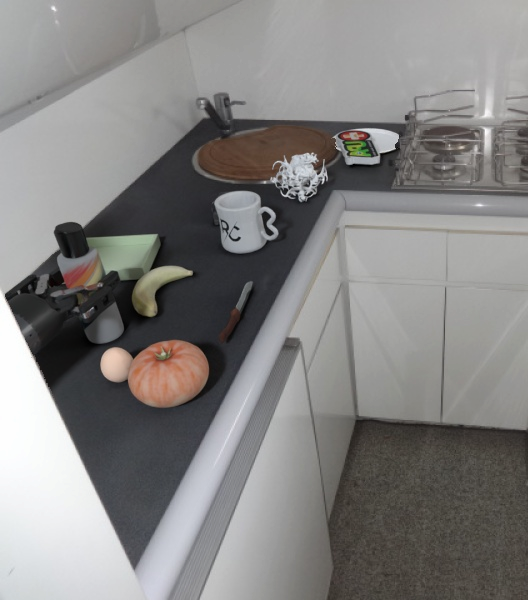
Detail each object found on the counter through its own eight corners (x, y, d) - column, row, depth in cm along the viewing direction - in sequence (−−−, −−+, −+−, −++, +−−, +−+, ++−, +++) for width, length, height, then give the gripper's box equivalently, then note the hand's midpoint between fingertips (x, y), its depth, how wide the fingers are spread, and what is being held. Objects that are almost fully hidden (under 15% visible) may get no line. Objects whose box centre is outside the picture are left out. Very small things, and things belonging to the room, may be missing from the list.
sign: (382, 157, 150) (343, 159, 148) (382, 163, 151) (344, 166, 149) (368, 129, 167) (334, 131, 166) (368, 135, 169) (334, 137, 167)
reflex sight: (236, 203, 136) (232, 183, 133) (233, 222, 128) (227, 201, 125) (219, 205, 136) (214, 185, 133) (214, 224, 127) (209, 203, 124)
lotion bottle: (87, 328, 97) (45, 221, 86) (123, 319, 99) (87, 213, 88) (87, 348, 93) (43, 238, 81) (125, 338, 95) (88, 230, 83)
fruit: (117, 318, 100) (112, 302, 98) (159, 271, 112) (155, 256, 110) (157, 322, 99) (152, 306, 97) (195, 274, 111) (191, 259, 109)
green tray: (61, 284, 108) (56, 272, 107) (84, 248, 119) (80, 238, 117) (146, 278, 110) (142, 267, 108) (160, 244, 120) (158, 233, 119)
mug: (214, 252, 118) (204, 207, 112) (235, 231, 125) (227, 188, 119) (271, 259, 115) (264, 214, 110) (289, 238, 123) (283, 194, 117)
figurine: (335, 152, 135) (334, 202, 138) (298, 146, 144) (298, 192, 148) (289, 154, 126) (290, 206, 130) (253, 146, 136) (254, 196, 140)
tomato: (119, 400, 83) (103, 358, 79) (180, 359, 91) (169, 318, 86) (168, 432, 78) (154, 389, 74) (229, 385, 86) (219, 344, 81)
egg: (128, 365, 90) (118, 336, 86) (144, 377, 87) (134, 348, 84) (101, 380, 87) (89, 350, 84) (116, 393, 85) (104, 364, 81)
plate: (329, 158, 158) (329, 154, 157) (331, 132, 175) (331, 128, 174) (405, 156, 159) (405, 152, 158) (400, 131, 176) (400, 127, 175)
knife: (249, 286, 108) (247, 272, 106) (257, 286, 108) (255, 272, 106) (218, 350, 93) (214, 335, 91) (227, 350, 93) (224, 335, 91)
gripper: (48, 319, 75) (126, 256, 88) (-42, 303, 78) (46, 245, 90) (67, 363, 79) (139, 297, 92) (-19, 347, 82) (62, 285, 95)
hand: (93, 271), depth 91 cm, fingers open, 8 cm apart
